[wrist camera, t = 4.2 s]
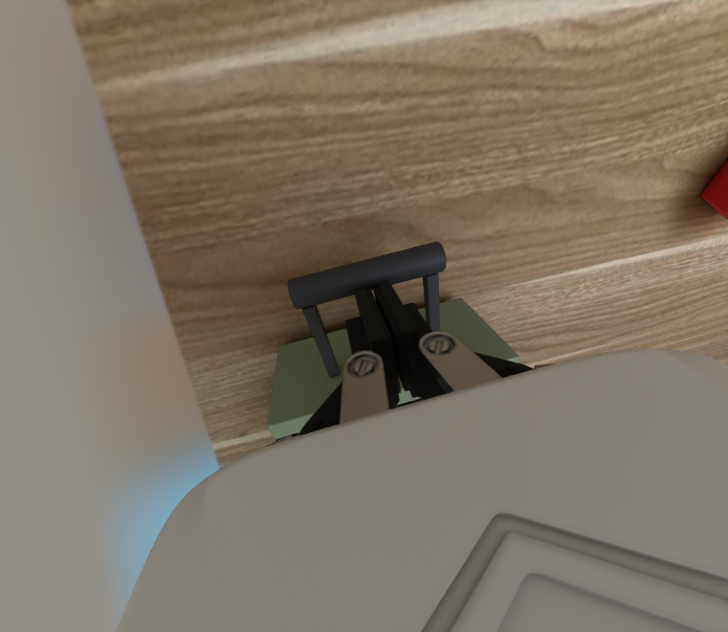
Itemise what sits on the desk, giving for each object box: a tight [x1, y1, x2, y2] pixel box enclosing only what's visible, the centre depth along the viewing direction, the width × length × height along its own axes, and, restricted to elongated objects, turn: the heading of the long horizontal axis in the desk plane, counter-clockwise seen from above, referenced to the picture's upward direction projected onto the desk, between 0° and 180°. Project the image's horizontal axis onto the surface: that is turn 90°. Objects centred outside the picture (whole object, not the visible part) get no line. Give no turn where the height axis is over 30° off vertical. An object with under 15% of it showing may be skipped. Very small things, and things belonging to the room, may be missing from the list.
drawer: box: [267, 242, 520, 439], centre depth 18 cm, size 22×13×6 cm, turn 11°
